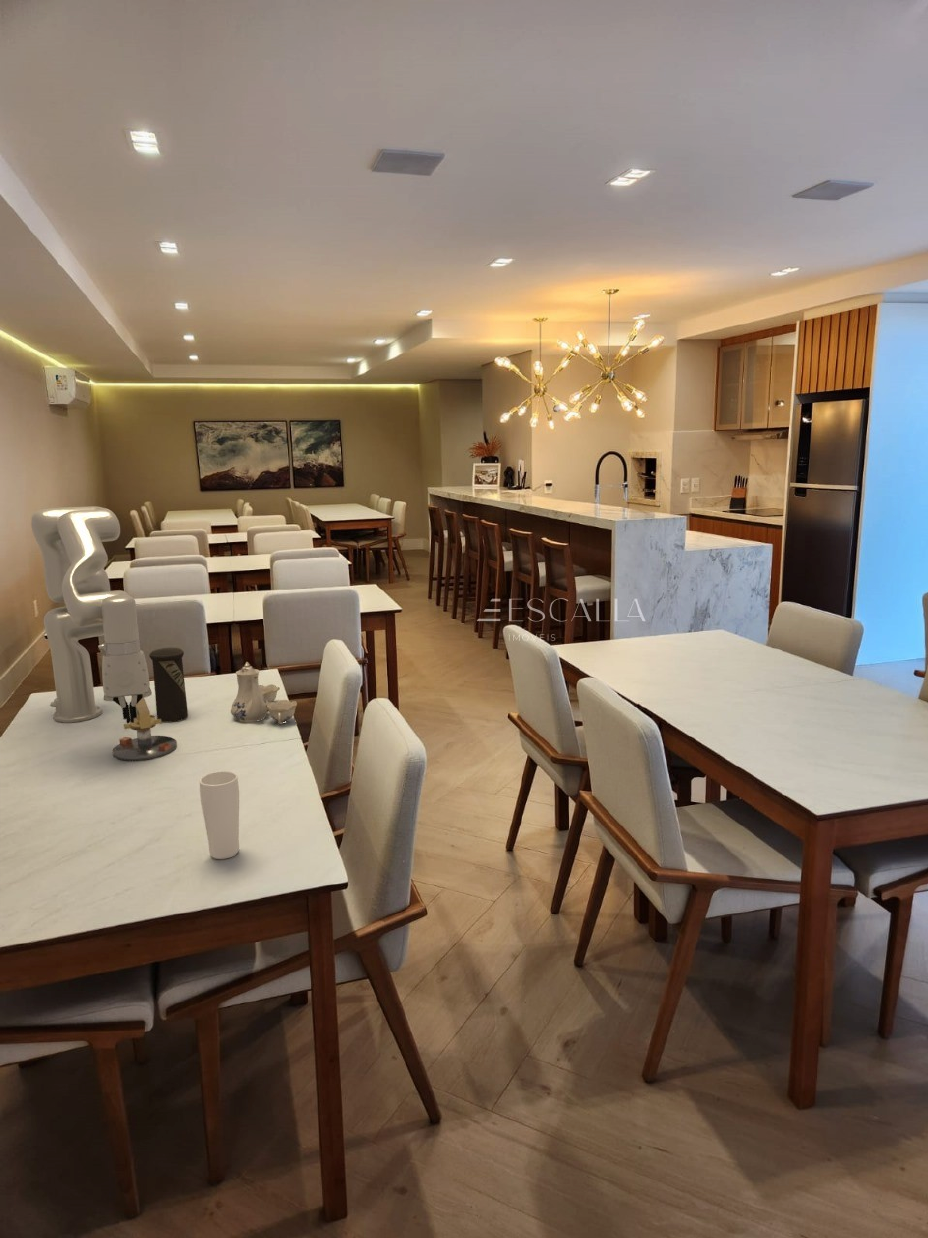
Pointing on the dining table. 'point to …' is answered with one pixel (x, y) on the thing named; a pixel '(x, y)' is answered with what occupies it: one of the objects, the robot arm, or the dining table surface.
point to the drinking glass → (221, 812)
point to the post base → (143, 753)
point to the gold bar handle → (142, 718)
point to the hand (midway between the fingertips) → (130, 721)
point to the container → (169, 684)
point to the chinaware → (258, 699)
